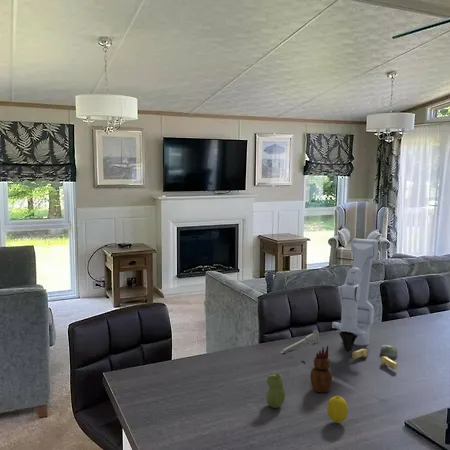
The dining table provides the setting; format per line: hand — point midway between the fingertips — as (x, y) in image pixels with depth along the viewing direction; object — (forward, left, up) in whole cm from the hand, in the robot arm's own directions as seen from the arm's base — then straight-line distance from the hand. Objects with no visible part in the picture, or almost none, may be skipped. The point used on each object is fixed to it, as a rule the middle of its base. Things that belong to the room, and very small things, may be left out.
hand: (348, 350), depth 168 cm
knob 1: (+4, +2, -2) cm, 5 cm away
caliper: (-19, -6, -4) cm, 20 cm away
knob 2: (+15, +3, -2) cm, 16 cm away
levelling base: (+8, +9, -4) cm, 13 cm away
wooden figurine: (+11, -27, -4) cm, 29 cm away
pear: (+10, -46, -4) cm, 47 cm away
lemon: (+27, -38, -4) cm, 47 cm away
